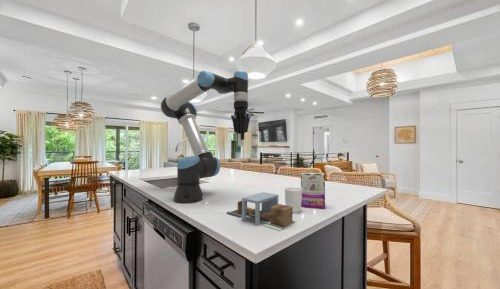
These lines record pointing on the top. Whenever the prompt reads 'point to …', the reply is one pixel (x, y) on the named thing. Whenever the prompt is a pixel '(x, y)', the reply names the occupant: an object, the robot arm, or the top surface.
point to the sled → (273, 214)
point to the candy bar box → (313, 190)
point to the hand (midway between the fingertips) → (240, 146)
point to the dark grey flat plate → (236, 213)
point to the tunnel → (267, 202)
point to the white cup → (293, 198)
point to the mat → (277, 225)
